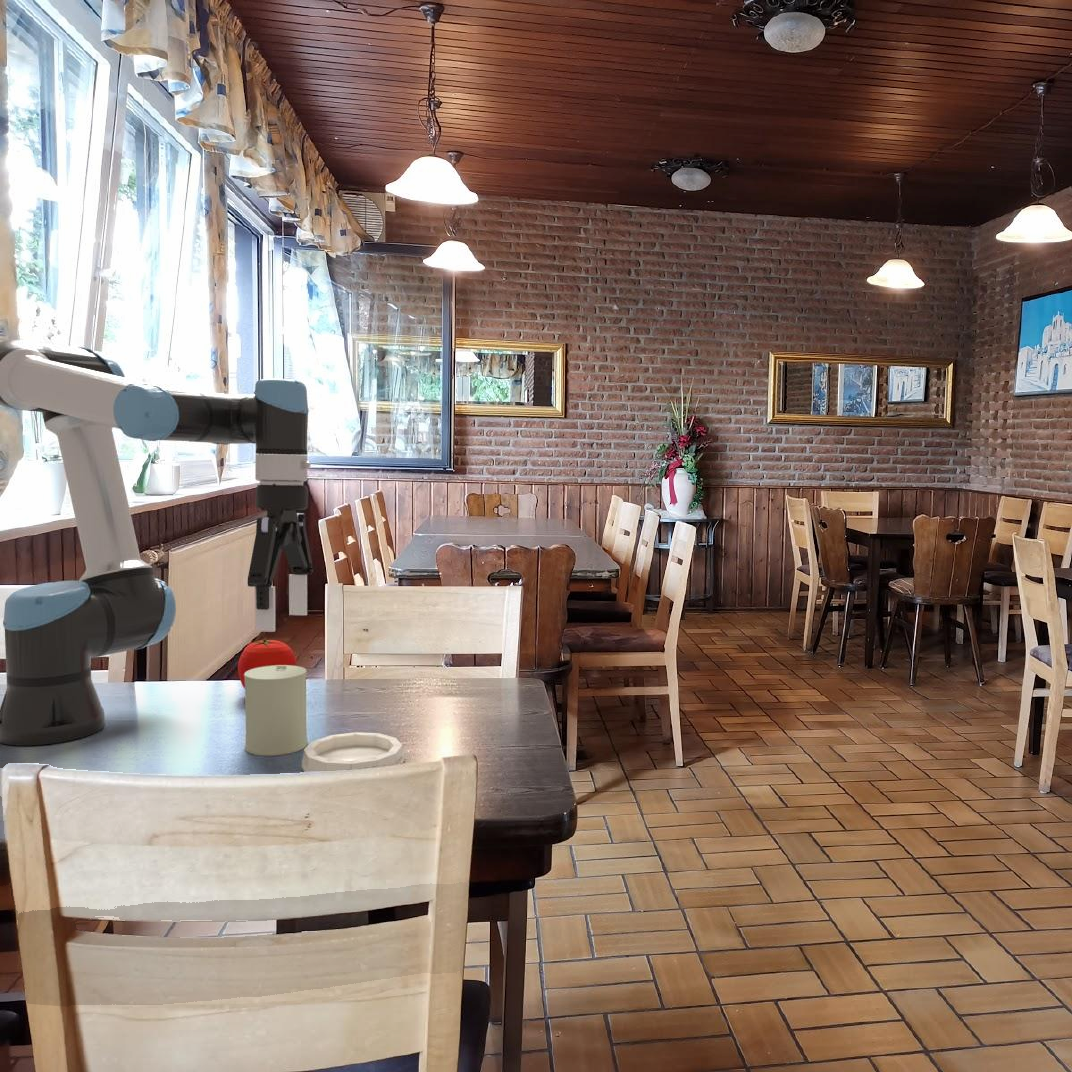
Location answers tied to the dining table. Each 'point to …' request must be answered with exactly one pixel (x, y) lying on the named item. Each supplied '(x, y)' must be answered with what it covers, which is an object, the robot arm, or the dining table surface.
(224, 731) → the dining table surface
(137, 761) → the dining table surface
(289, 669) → the can
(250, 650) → the tomato
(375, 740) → the saucer
